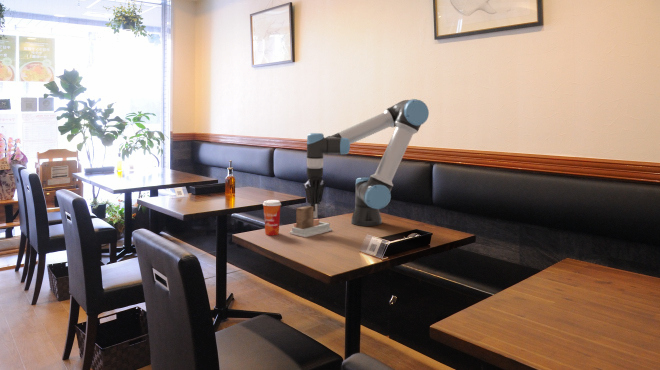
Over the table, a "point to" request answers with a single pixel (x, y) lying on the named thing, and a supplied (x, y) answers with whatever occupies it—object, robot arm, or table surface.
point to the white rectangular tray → (311, 229)
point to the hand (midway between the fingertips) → (314, 217)
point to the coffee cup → (272, 216)
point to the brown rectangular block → (304, 217)
